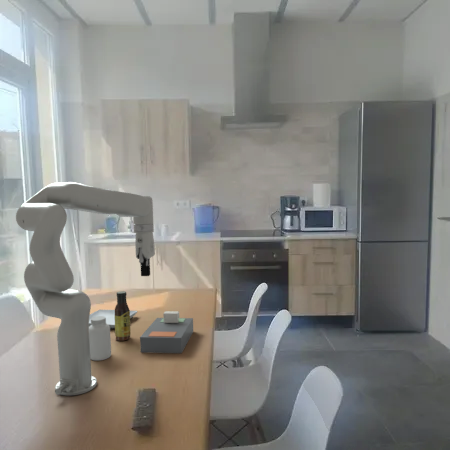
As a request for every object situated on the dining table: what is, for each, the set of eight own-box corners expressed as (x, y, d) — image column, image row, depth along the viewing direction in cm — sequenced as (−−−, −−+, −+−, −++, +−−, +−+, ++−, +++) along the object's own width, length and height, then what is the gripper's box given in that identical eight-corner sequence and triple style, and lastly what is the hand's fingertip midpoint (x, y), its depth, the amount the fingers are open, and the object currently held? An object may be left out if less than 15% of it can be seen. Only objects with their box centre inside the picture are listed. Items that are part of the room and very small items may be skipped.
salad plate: (75, 329, 195) (74, 321, 195) (99, 315, 216) (99, 308, 215) (117, 332, 190) (117, 324, 190) (138, 317, 211) (138, 310, 210)
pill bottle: (89, 362, 157) (86, 322, 155) (89, 354, 165) (87, 316, 163) (111, 359, 159) (109, 320, 158) (111, 351, 167) (109, 313, 165)
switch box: (181, 353, 163) (180, 337, 163) (140, 352, 165) (139, 336, 165) (193, 331, 187) (192, 317, 186) (157, 331, 189) (157, 317, 188)
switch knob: (177, 322, 180) (177, 313, 179) (163, 322, 180) (163, 313, 180) (179, 320, 183) (179, 311, 182) (165, 320, 183) (165, 311, 183)
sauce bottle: (126, 342, 177) (124, 294, 175) (112, 341, 178) (110, 294, 176) (133, 336, 183) (131, 290, 181) (119, 335, 184) (117, 290, 182)
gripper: (147, 230, 157) (149, 280, 158) (158, 226, 171) (160, 271, 173) (127, 230, 157) (129, 280, 159) (140, 226, 172) (142, 271, 174)
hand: (145, 275), depth 166 cm, fingers closed
